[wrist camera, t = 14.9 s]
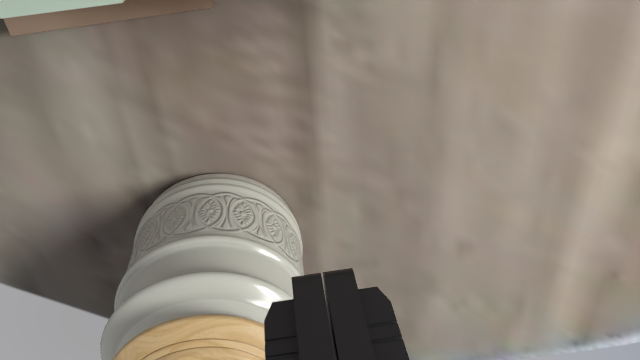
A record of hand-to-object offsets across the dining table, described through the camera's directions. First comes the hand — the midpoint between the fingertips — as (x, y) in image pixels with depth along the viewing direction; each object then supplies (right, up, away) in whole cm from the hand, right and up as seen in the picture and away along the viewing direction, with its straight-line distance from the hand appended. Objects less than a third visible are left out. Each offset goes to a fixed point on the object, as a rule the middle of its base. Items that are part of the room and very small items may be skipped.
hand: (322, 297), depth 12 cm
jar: (-8, -2, +28) cm, 29 cm away
